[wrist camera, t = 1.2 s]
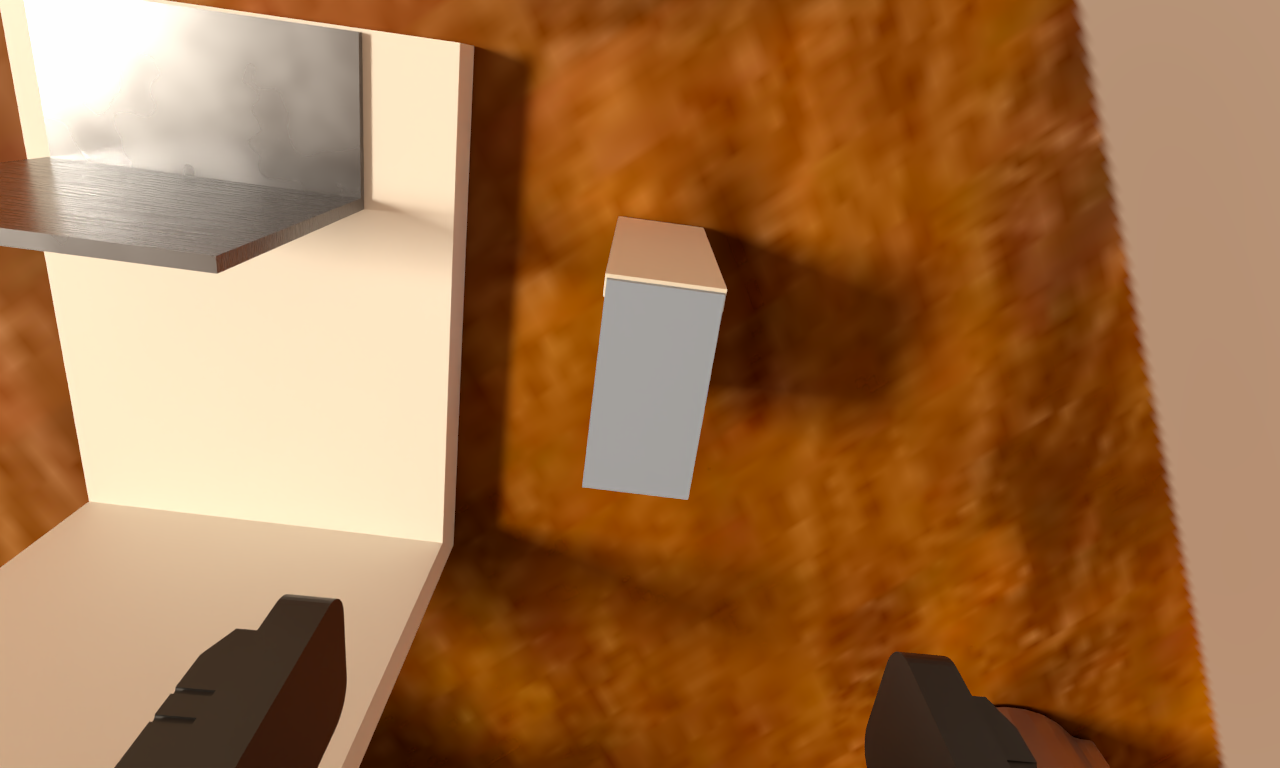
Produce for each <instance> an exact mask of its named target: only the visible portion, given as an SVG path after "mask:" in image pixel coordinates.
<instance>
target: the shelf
mask: <svg viewBox="0 0 1280 768" xmlns="http://www.w3.org/2000/svg"><path fill="white" fill-rule="evenodd" d="M142 1H149V2H156V3H163V4H170V5H177V6H183V7H190V8H197V9H204V10H211V11H218V12H225V13H232V14H239V15H246V16H253V17H260V18H267V19H274V20H281V21H288V22H295V23H301V24H308V25H315V26H322V27H329V28H336V29H343V30H350V31H357V32H362V62H363V149H364V210H361V211H359V212H357V213H355V214H352V215H350V216H348V217H345V218H343V219H341V220H339V221H336V222H334V223H332V224H329V225H327V226H325V227H323V228H320V229H318V230H316V231H314V232H311V233H309V234H307V235H304V236H302V237H300V238H298V239H295V240H293V241H291V242H289V243H286V244H284V245H282V246H279V247H277V248H275V249H273V250H270V251H268V252H266V253H263V254H261V255H259V256H257V257H254V258H252V259H250V260H248V261H245V262H243V263H241V264H238V265H236V266H234V267H232V268H229V269H227V270H225V271H223V272H220V273H218V274H215V273H207V272H200V271H192V270H184V269H177V268H169V267H161V266H153V265H146V264H138V263H130V262H123V261H115V260H107V259H100V258H92V257H84V256H77V255H69V254H61V253H54V252H46V251H44V254H45V259H46V265H47V270H48V276H49V281H50V287H51V292H52V298H53V304H54V309H55V315H56V320H57V326H58V331H59V337H60V342H61V348H62V353H63V359H64V364H65V370H66V376H67V381H68V387H69V392H70V398H71V403H72V409H73V414H74V420H75V425H76V431H77V436H78V442H79V448H80V453H81V459H82V464H83V470H84V475H85V481H86V486H87V492H88V497H89V502H88V503H86V504H85V505H84V506H82V507H81V508H80V509H78V510H77V511H76V512H74V513H73V514H72V515H70V516H69V517H68V518H66V519H65V520H64V521H62V522H61V523H60V524H58V525H57V526H56V527H54V528H53V529H52V530H50V531H49V532H48V533H46V534H45V535H44V536H42V537H41V538H40V539H38V540H37V541H35V542H34V543H33V544H31V545H30V546H29V547H27V548H26V549H25V550H23V551H22V552H21V553H19V554H18V555H17V556H15V557H14V558H13V559H11V560H10V561H9V562H7V563H6V564H5V565H3V566H2V567H1V568H0V768H114V767H115V766H116V765H117V763H118V762H119V761H120V759H121V758H122V757H123V755H124V754H125V753H126V751H127V750H128V749H129V748H130V746H131V745H132V744H133V742H134V741H135V740H136V738H137V737H138V736H139V734H140V733H141V732H142V730H143V729H144V728H145V726H146V725H147V724H148V723H149V722H152V721H153V720H154V717H155V713H156V712H157V711H158V709H159V708H160V707H161V705H162V704H163V703H164V701H165V700H166V699H167V698H168V696H169V695H170V694H174V692H175V688H176V686H177V684H178V683H179V682H180V680H181V679H182V678H183V676H184V675H185V674H186V673H187V671H188V670H189V669H190V667H191V666H192V665H193V663H194V662H195V661H196V659H197V658H198V657H199V655H200V654H202V653H203V652H204V651H206V650H207V649H209V648H210V647H211V646H213V645H214V644H216V643H217V642H218V641H220V640H221V639H223V638H224V637H225V636H227V635H228V634H229V633H231V632H232V631H234V630H235V629H236V628H237V629H248V630H258V628H259V627H260V625H261V624H262V623H263V621H264V620H265V618H266V617H267V615H268V614H269V612H270V611H271V610H272V608H273V607H274V605H275V604H276V602H277V601H278V600H279V599H280V598H281V597H282V596H283V595H285V594H293V595H304V596H315V597H325V598H336V599H340V600H341V601H342V604H343V608H344V626H345V648H346V669H347V687H346V695H345V701H344V705H343V709H342V713H341V716H340V719H339V722H338V725H337V727H336V729H335V732H334V734H333V736H332V738H331V740H330V742H329V744H328V747H327V749H326V751H325V753H324V755H323V757H322V760H321V762H320V764H319V766H318V768H359V766H360V764H361V762H362V759H363V757H364V755H365V752H366V750H367V748H368V745H369V743H370V740H371V738H372V736H373V733H374V731H375V729H376V726H377V724H378V722H379V719H380V717H381V715H382V712H383V710H384V707H385V705H386V703H387V700H388V698H389V696H390V693H391V691H392V689H393V686H394V684H395V682H396V679H397V677H398V674H399V672H400V670H401V667H402V665H403V663H404V660H405V658H406V656H407V653H408V651H409V649H410V646H411V644H412V642H413V639H414V637H415V634H416V632H417V630H418V627H419V625H420V623H421V620H422V618H423V616H424V613H425V611H426V609H427V606H428V604H429V601H430V599H431V597H432V594H433V592H434V590H435V587H436V585H437V583H438V580H439V578H440V576H441V573H442V571H443V568H444V566H445V564H446V561H447V559H448V557H449V554H450V552H451V550H452V547H453V545H454V522H455V498H456V474H457V450H458V426H459V402H460V378H461V354H462V330H463V306H464V282H465V258H466V234H467V210H468V186H469V162H470V138H471V114H472V90H473V66H474V46H472V45H467V44H463V43H457V42H450V41H443V40H436V39H429V38H422V37H416V36H409V35H402V34H395V33H388V32H381V31H374V30H367V29H360V28H353V27H346V26H339V25H332V24H325V23H318V22H312V21H305V20H298V19H291V18H284V17H277V16H270V15H263V14H256V13H249V12H242V11H235V10H228V9H221V8H215V7H208V6H201V5H194V4H187V3H180V2H173V1H166V0H142ZM0 10H1V16H2V21H3V27H4V32H5V38H6V43H7V49H8V54H9V60H10V65H11V71H12V76H13V82H14V88H15V93H16V99H17V104H18V110H19V115H20V121H21V126H22V132H23V137H24V143H25V148H26V154H27V159H34V158H42V157H50V152H49V146H48V140H47V134H46V128H45V122H44V116H43V110H42V104H41V98H40V92H39V86H38V81H37V75H36V69H35V63H34V57H33V51H32V45H31V39H30V33H29V27H28V21H27V15H26V9H25V4H24V0H0Z"/></svg>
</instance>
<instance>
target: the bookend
mask: <svg viewBox="0 0 1280 768" xmlns="http://www.w3.org/2000/svg"><path fill="white" fill-rule="evenodd" d="M24 4H25V9H26V15H27V21H28V27H29V33H30V39H31V45H32V51H33V57H34V63H35V69H36V75H37V81H38V86H39V92H40V98H41V104H42V110H43V116H44V122H45V128H46V134H47V140H48V146H49V152H50V157H42V158H34V159H26V160H17V161H9V162H1V163H0V246H7V247H15V248H23V249H30V250H38V251H46V252H54V253H61V254H69V255H77V256H84V257H92V258H100V259H107V260H115V261H123V262H130V263H138V264H146V265H153V266H161V267H169V268H177V269H184V270H192V271H200V272H207V273H215V274H218V273H220V272H223V271H225V270H227V269H229V268H232V267H234V266H236V265H238V264H241V263H243V262H245V261H248V260H250V259H252V258H254V257H257V256H259V255H261V254H263V253H266V252H268V251H270V250H273V249H275V248H277V247H279V246H282V245H284V244H286V243H289V242H291V241H293V240H295V239H298V238H300V237H302V236H304V235H307V234H309V233H311V232H314V231H316V230H318V229H320V228H323V227H325V226H327V225H329V224H332V223H334V222H336V221H339V220H341V219H343V218H345V217H348V216H350V215H352V214H355V213H357V212H359V211H361V210H364V149H363V62H362V32H357V31H350V30H343V29H336V28H329V27H322V26H315V25H308V24H301V23H295V22H288V21H281V20H274V19H267V18H260V17H253V16H246V15H239V14H232V13H225V12H218V11H211V10H204V9H197V8H190V7H183V6H177V5H170V4H163V3H156V2H149V1H142V0H24Z"/></svg>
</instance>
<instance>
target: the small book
mask: <svg viewBox="0 0 1280 768" xmlns="http://www.w3.org/2000/svg"><path fill="white" fill-rule="evenodd" d="M726 293H727V287H726V285H725V282H724V280H723V277H722V274H721V272H720V269H719V267H718V264H717V262H716V259H715V256H714V254H713V251H712V249H711V246H710V243H709V241H708V238H707V236H706V233H705V230H704V228H702V227H695V226H688V225H680V224H673V223H666V222H658V221H651V220H644V219H636V218H629V217H622V216H618V220H617V225H616V229H615V234H614V238H613V243H612V247H611V251H610V256H609V260H608V265H607V269H606V274H605V282H604V291H603V296H605V298H604V306H603V315H602V323H601V332H600V340H599V349H598V357H597V366H596V374H595V383H594V391H593V400H592V408H591V417H590V425H589V434H588V442H587V451H586V459H585V468H584V476H583V485H582V487H586V488H594V489H602V490H611V491H619V492H627V493H636V494H644V495H652V496H660V497H669V498H677V499H685V500H688V497H689V491H690V486H691V481H692V475H693V470H694V464H695V459H696V453H697V448H698V442H699V437H700V431H701V426H702V420H703V415H704V409H705V404H706V398H707V393H708V387H709V382H710V377H711V371H712V366H713V360H714V355H715V349H716V344H717V338H718V333H719V327H720V322H721V316H722V312H723V310H724V304H725V299H726Z"/></svg>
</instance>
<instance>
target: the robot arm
mask: <svg viewBox="0 0 1280 768" xmlns="http://www.w3.org/2000/svg"><path fill="white" fill-rule="evenodd" d="M346 687H347V669H346V648H345V626H344V608H343V604H342V601H341V600H340V599H336V598H325V597H315V596H304V595H293V594H285V595H283V596H282V597H281V598H280V599H279V600H278V601H277V602H276V604H275V605H274V607H273V608H272V610H271V611H270V612H269V614H268V615H267V617H266V618H265V620H264V621H263V623H262V624H261V625H260V627H259V628H258V630H248V629H237V628H236V629H235V630H234V631H232V632H231V633H229V634H228V635H227V636H225V637H224V638H223V639H221V640H220V641H218V642H217V643H216V644H214V645H213V646H211V647H210V648H209V649H207V650H206V651H204V652H203V653H202V654H200V655H199V657H198V658H197V659H196V661H195V662H194V663H193V665H192V666H191V667H190V669H189V670H188V671H187V673H186V674H185V675H184V676H183V678H182V679H181V680H180V682H179V683H178V684H177V686H176V688H175V692H174V694H170V695H169V696H168V698H167V699H166V700H165V701H164V703H163V704H162V705H161V707H160V708H159V709H158V711H157V712H156V713H155V717H154V720H153V721H152V722H149V723H148V724H147V725H146V726H145V728H144V729H143V730H142V732H141V733H140V734H139V736H138V737H137V738H136V740H135V741H134V742H133V744H132V745H131V746H130V748H129V749H128V750H127V751H126V753H125V754H124V755H123V757H122V758H121V759H120V761H119V762H118V763H117V765H116V766H115V767H114V768H318V766H319V764H320V762H321V760H322V757H323V755H324V753H325V751H326V749H327V747H328V744H329V742H330V740H331V738H332V736H333V734H334V732H335V729H336V727H337V725H338V722H339V719H340V716H341V713H342V709H343V705H344V701H345V695H346ZM865 758H866V765H867V768H1110V766H1109V765H1108V763H1107V762H1106V760H1105V759H1104V757H1103V756H1102V754H1101V753H1100V751H1099V750H1098V748H1097V747H1096V745H1095V744H1094V742H1093V741H1091V740H1084V739H1078V738H1074V737H1073V736H1071V735H1070V734H1069V733H1068V732H1067V731H1065V730H1064V729H1063V728H1062V727H1061V726H1060V725H1059V724H1058V723H1057V722H1055V721H1053V720H1051V719H1049V718H1048V717H1046V716H1044V715H1042V714H1039V713H1035V712H1032V711H1029V710H1026V709H1018V708H1010V707H995V706H994V705H993V704H992V703H991V702H990V701H989V700H988V699H987V698H986V697H977V696H972V695H971V694H970V692H969V690H968V688H967V686H966V684H965V683H964V681H963V679H962V677H961V675H960V673H959V672H958V670H957V668H956V666H955V665H954V663H953V662H952V661H951V659H949V658H948V657H946V656H938V655H927V654H916V653H905V652H894V653H893V654H892V655H891V656H890V658H889V660H888V662H887V665H886V668H885V671H884V674H883V677H882V681H881V684H880V687H879V690H878V693H877V696H876V699H875V702H874V705H873V709H872V712H871V715H870V718H869V721H868V724H867V728H866V734H865Z"/></svg>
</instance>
